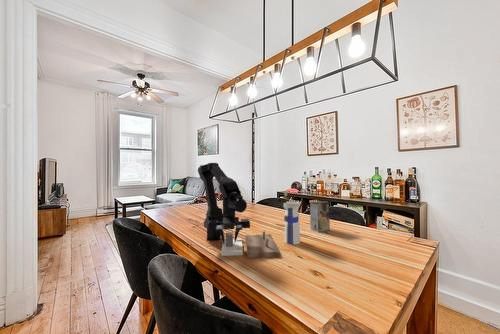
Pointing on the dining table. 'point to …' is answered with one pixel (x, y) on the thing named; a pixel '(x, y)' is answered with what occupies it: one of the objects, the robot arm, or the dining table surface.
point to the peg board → (261, 246)
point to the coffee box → (319, 216)
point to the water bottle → (291, 222)
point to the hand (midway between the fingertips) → (229, 242)
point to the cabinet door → (232, 246)
